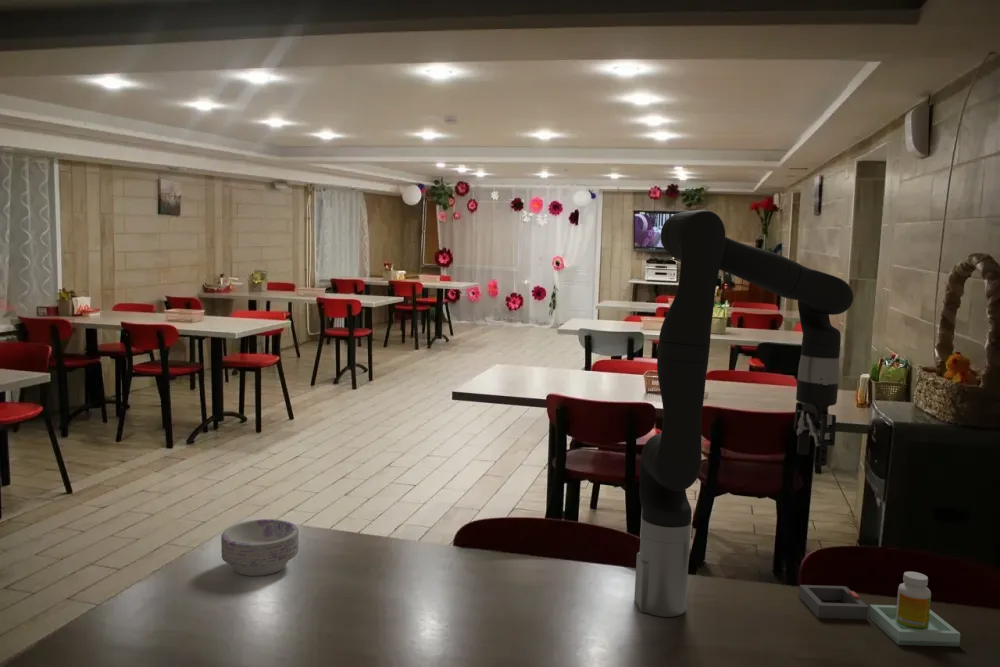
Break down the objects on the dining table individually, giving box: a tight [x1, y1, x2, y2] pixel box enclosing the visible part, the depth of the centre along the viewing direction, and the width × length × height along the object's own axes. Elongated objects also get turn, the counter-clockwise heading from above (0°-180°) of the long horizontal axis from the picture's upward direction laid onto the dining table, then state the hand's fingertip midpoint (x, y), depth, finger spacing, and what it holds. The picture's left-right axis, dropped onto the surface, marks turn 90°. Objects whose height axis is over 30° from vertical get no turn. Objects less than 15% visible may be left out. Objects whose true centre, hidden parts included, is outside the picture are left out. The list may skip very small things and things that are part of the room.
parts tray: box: [867, 604, 961, 647], centre depth 147 cm, size 11×11×2 cm
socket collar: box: [798, 584, 869, 620], centre depth 156 cm, size 9×9×3 cm
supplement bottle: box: [896, 571, 932, 630], centre depth 147 cm, size 5×5×10 cm
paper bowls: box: [220, 518, 300, 577], centre depth 164 cm, size 15×15×8 cm
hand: (811, 459), depth 159 cm, fingers open, 8 cm apart
